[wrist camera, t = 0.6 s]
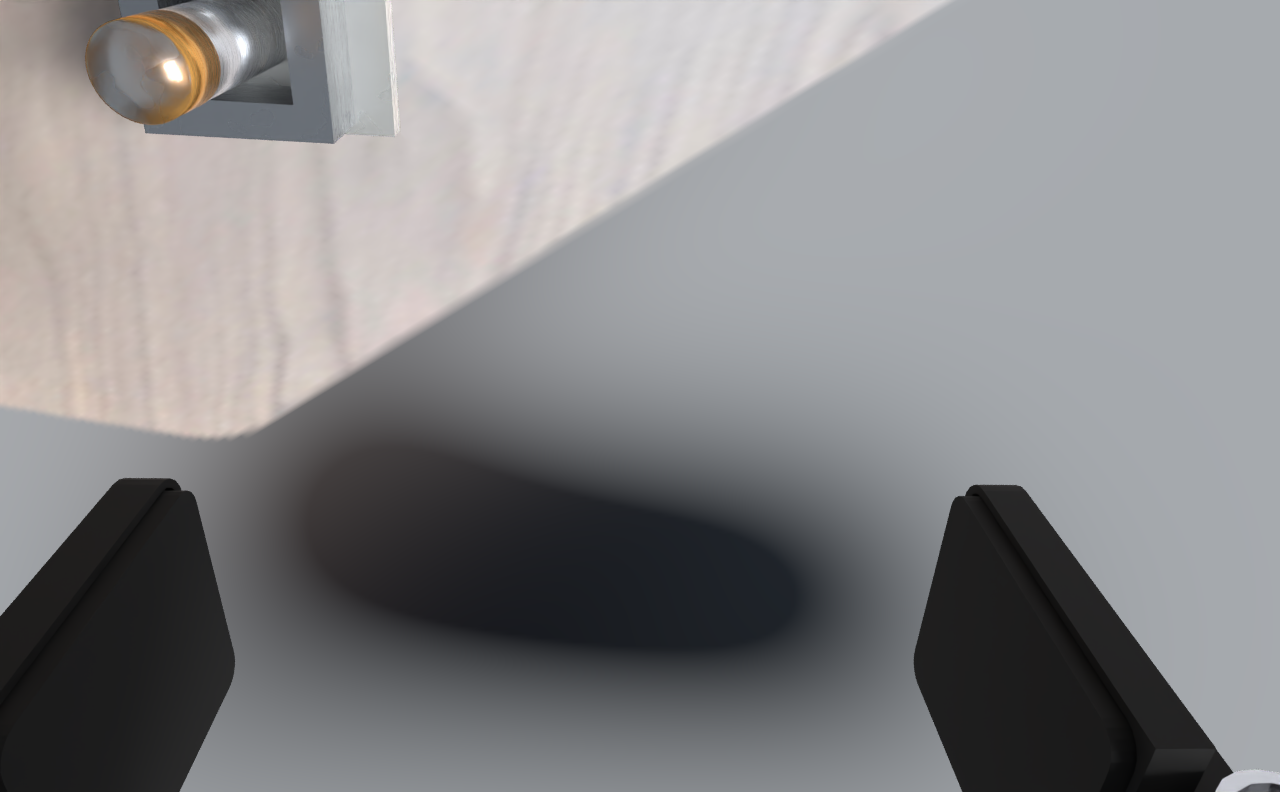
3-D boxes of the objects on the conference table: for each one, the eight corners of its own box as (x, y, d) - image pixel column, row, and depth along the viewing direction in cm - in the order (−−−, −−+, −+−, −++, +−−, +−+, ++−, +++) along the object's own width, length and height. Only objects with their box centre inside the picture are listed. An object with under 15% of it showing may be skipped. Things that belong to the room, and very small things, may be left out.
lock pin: (211, -16, 30) (73, 15, 22) (290, -11, 30) (181, 22, 22) (224, 65, 31) (98, 121, 24) (300, 70, 32) (200, 127, 24)
